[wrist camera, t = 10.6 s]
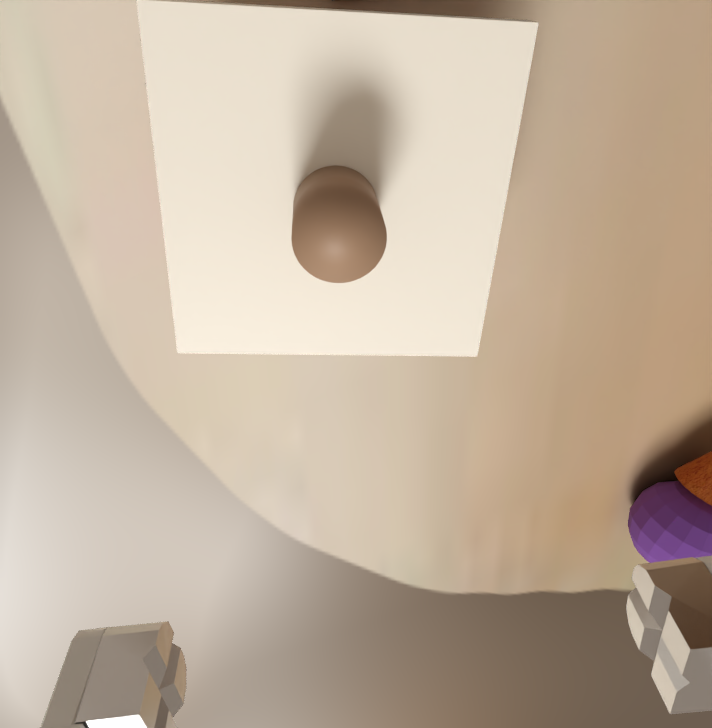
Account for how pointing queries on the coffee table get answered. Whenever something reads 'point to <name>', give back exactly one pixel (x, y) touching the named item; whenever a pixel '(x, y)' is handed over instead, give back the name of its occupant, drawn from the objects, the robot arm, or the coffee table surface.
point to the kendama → (675, 515)
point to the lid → (331, 173)
